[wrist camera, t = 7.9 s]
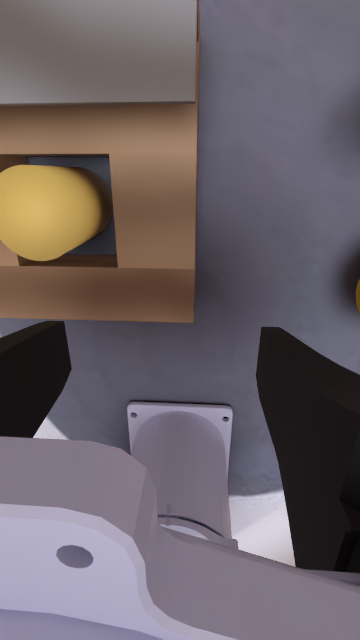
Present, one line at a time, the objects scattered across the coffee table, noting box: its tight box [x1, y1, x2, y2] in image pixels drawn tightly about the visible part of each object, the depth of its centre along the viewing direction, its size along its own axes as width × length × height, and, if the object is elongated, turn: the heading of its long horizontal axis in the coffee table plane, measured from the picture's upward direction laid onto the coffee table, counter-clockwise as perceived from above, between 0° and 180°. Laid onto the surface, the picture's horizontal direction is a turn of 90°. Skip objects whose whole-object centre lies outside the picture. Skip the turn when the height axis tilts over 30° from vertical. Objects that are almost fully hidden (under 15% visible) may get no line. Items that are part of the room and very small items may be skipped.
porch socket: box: [0, 0, 200, 323], centre depth 16 cm, size 14×14×7 cm
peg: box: [0, 165, 113, 261], centre depth 17 cm, size 4×4×6 cm
